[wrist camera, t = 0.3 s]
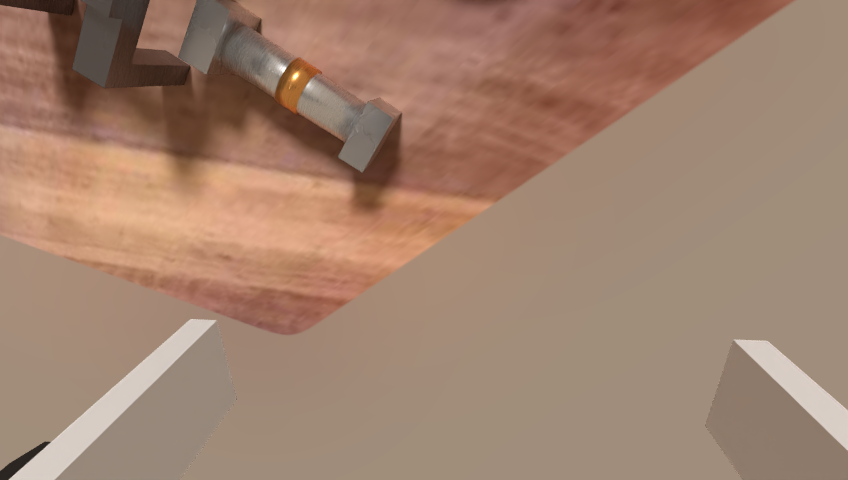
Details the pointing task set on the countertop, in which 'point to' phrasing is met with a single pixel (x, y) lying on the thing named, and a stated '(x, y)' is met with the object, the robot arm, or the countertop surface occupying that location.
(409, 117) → the countertop surface
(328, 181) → the countertop surface
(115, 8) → the collar rail
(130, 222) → the countertop surface
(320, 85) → the tube
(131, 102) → the countertop surface
